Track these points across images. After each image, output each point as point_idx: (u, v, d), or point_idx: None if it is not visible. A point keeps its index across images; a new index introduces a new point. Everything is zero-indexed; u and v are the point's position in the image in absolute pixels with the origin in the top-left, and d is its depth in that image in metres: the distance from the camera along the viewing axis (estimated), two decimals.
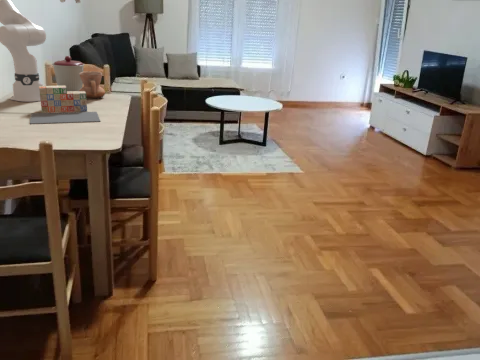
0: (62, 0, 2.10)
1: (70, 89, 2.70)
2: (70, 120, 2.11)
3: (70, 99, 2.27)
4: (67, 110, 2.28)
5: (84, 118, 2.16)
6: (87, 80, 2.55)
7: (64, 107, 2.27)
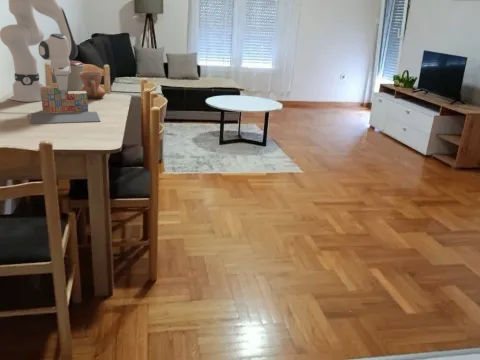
0: (64, 98, 2.24)
1: (70, 89, 2.70)
2: (70, 120, 2.11)
3: (71, 99, 2.27)
4: (68, 110, 2.28)
5: (84, 118, 2.16)
6: (87, 80, 2.55)
7: (65, 107, 2.27)
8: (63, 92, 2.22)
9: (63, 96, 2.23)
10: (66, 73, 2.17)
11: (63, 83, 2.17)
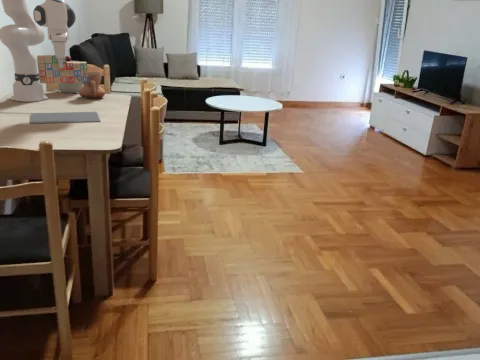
0: (62, 67, 2.09)
1: (70, 89, 2.70)
2: (70, 120, 2.11)
3: (70, 69, 2.12)
4: (67, 81, 2.13)
5: (84, 118, 2.16)
6: None
7: (63, 78, 2.12)
8: (61, 60, 2.07)
9: (61, 65, 2.08)
10: (64, 39, 2.01)
11: (61, 50, 2.01)
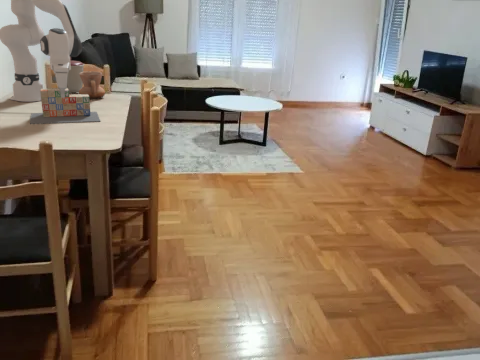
0: (64, 96, 2.13)
1: (70, 89, 2.70)
2: (70, 120, 2.11)
3: (73, 103, 2.16)
4: (69, 114, 2.18)
5: (84, 118, 2.16)
6: (87, 80, 2.55)
7: (66, 111, 2.17)
8: (62, 90, 2.11)
9: (62, 94, 2.12)
10: (66, 70, 2.06)
11: (63, 81, 2.06)
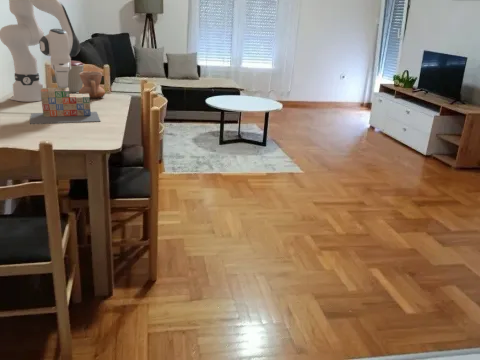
0: None
1: (70, 89, 2.70)
2: (70, 120, 2.11)
3: (73, 103, 2.16)
4: (70, 114, 2.18)
5: (84, 118, 2.16)
6: (87, 80, 2.55)
7: (66, 111, 2.17)
8: None
9: None
10: (66, 69, 2.10)
11: (64, 80, 2.10)
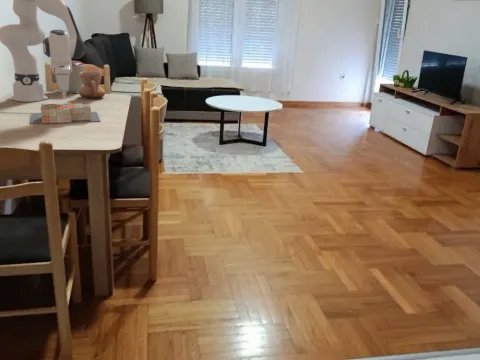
0: (65, 97, 2.12)
1: (70, 89, 2.70)
2: None
3: None
4: None
5: None
6: (87, 80, 2.55)
7: None
8: (64, 91, 2.10)
9: (64, 95, 2.12)
10: (67, 72, 2.02)
11: (65, 83, 2.02)
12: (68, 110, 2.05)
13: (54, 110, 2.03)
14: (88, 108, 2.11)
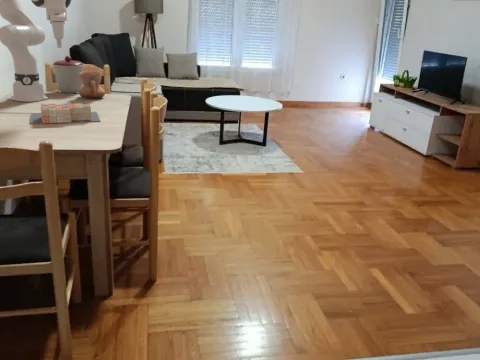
0: (60, 46, 2.13)
1: (70, 89, 2.70)
2: None
3: None
4: None
5: None
6: (87, 80, 2.55)
7: None
8: (59, 40, 2.11)
9: (59, 45, 2.12)
10: (62, 19, 2.03)
11: (59, 30, 2.03)
12: (68, 110, 2.05)
13: (54, 110, 2.03)
14: (88, 108, 2.11)
